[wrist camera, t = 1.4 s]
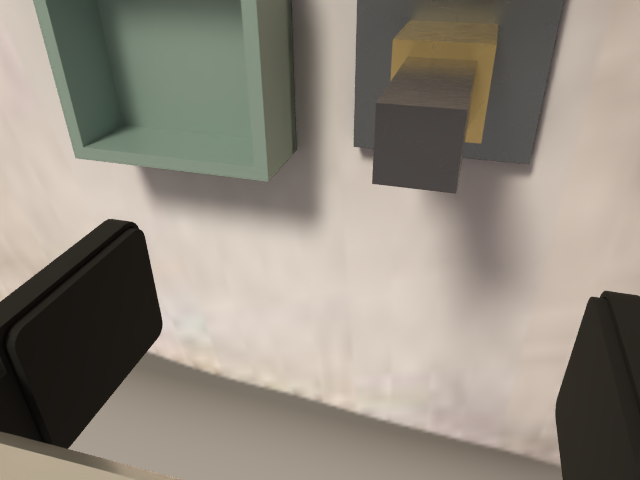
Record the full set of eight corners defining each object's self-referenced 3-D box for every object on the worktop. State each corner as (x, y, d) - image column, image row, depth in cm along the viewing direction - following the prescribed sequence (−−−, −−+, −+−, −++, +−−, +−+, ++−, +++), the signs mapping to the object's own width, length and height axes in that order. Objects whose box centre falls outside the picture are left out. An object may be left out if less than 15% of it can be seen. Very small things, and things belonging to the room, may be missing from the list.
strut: (498, 23, 26) (493, 89, 17) (484, 110, 29) (473, 213, 19) (409, 20, 27) (356, 80, 18) (403, 104, 30) (353, 198, 20)
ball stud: (570, -41, 25) (583, -31, 21) (528, 157, 30) (532, 198, 26) (362, -43, 27) (336, -34, 23) (357, 140, 33) (334, 175, 28)
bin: (288, -88, 27) (250, -87, 23) (296, 149, 34) (268, 181, 30) (76, -85, 31) (10, -84, 27) (122, 131, 37) (75, 158, 33)
